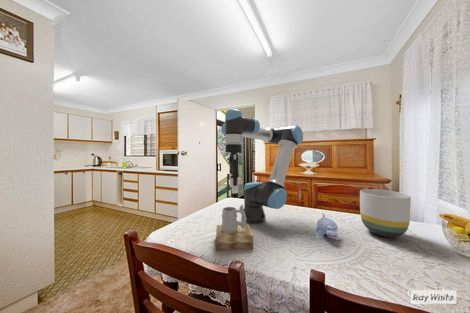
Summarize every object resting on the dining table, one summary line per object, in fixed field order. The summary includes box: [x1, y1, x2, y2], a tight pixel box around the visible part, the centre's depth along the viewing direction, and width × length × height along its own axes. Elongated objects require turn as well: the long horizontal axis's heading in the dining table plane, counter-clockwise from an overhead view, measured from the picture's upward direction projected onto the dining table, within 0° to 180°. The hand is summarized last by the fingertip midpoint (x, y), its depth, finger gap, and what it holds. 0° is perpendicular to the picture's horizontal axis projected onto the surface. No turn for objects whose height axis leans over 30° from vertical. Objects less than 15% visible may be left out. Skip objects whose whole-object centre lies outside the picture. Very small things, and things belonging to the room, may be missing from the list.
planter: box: [359, 188, 412, 239], centre depth 88 cm, size 20×20×21 cm
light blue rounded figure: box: [313, 212, 341, 241], centre depth 86 cm, size 11×15×10 cm
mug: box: [220, 204, 247, 233], centre depth 80 cm, size 8×12×12 cm, turn 82°
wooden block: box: [215, 223, 254, 252], centre depth 81 cm, size 16×12×6 cm
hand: (233, 189), depth 80 cm, fingers open, 13 cm apart
